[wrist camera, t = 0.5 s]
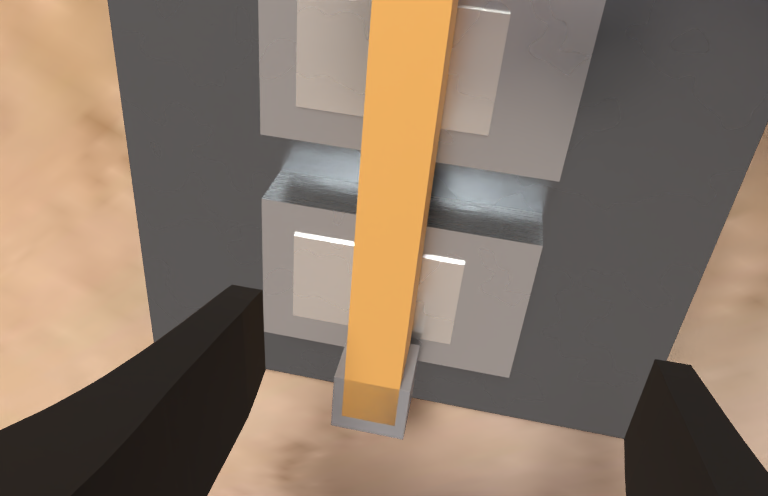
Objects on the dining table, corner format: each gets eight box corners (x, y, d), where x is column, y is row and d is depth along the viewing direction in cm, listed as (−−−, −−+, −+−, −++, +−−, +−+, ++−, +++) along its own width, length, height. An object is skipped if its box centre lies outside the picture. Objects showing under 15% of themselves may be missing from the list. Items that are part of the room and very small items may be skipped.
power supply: (604, -38, 16) (611, -20, 15) (557, 152, 19) (559, 183, 18) (280, -78, 17) (255, -66, 16) (280, 109, 20) (259, 136, 18)
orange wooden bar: (383, -338, 12) (360, -359, 11) (538, -326, 12) (539, -345, 10) (337, 377, 22) (321, 423, 21) (421, 393, 22) (412, 441, 20)
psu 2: (542, 213, 20) (542, 248, 19) (510, 340, 23) (508, 380, 22) (280, 170, 21) (260, 200, 20) (280, 298, 24) (262, 333, 22)
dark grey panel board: (961, -378, 13) (1049, -414, 11) (629, 423, 25) (639, 483, 23) (67, -441, 15) (-14, -483, 13) (164, 333, 27) (130, 381, 25)
